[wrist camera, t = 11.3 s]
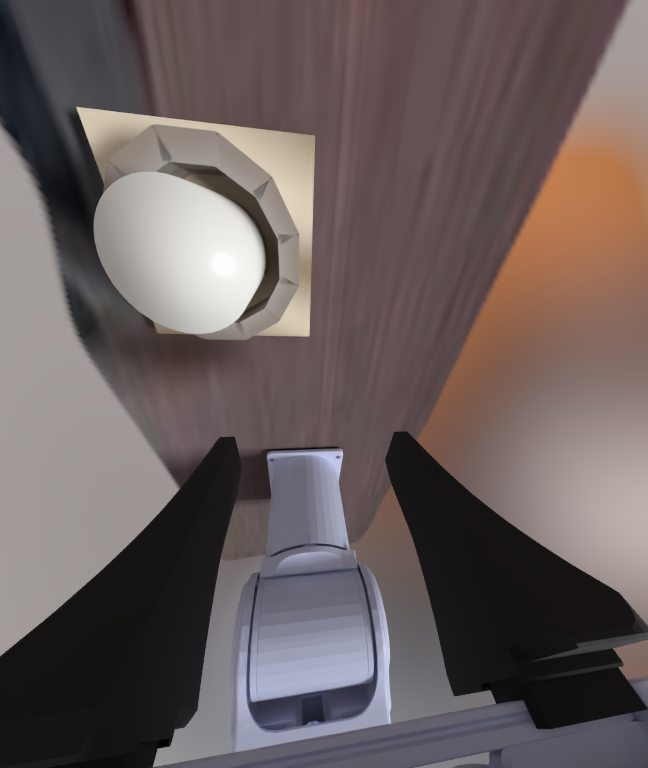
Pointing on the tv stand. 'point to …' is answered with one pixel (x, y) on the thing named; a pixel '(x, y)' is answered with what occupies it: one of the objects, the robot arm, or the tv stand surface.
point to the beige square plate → (234, 180)
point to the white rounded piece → (179, 251)
